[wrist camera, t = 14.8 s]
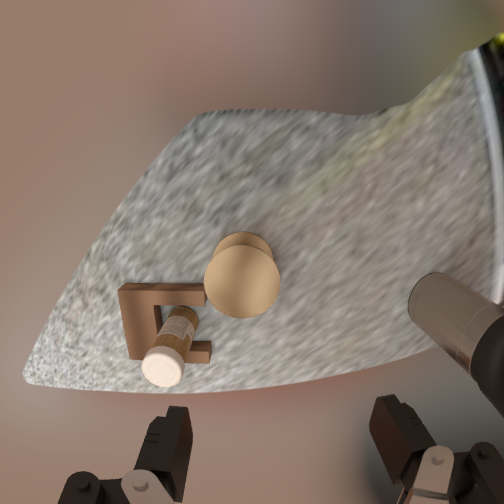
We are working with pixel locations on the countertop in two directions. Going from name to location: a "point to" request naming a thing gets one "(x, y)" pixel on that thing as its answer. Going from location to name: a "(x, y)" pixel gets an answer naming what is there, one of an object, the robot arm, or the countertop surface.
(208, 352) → the c-shaped block
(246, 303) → the bobbin
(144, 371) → the sprinkles bottle
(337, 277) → the countertop surface
